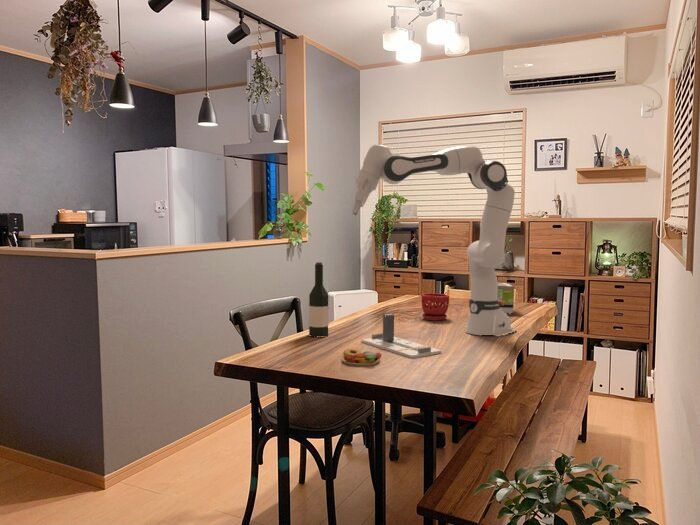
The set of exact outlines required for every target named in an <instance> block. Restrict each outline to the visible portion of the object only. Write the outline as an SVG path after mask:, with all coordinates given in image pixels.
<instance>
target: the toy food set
mask: <svg viewBox="0 0 700 525" xmlns="http://www.w3.org/2000/svg"><path fill="white" fill-rule="evenodd" d="M342 353H343V354H342V355H343V357H341V360H342V361H343V363H344V364H346V365H348V366H353V367H370V366H375V365H377V364H378V363H379V362H380V361H381V358H382V354H381V353H380V352H373V351H363V352H362V351H361V350H359V349H356V348H346V349H345V350H343V352H342Z"/></svg>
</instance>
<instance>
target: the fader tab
mask: <svg viewBox="0 0 700 525" xmlns="http://www.w3.org/2000/svg"><path fill="white" fill-rule="evenodd" d="M382 333H383V340H384V341H387V342H388V341H394V337H395V314H393V313H383V314H382Z"/></svg>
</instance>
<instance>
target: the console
mask: <svg viewBox="0 0 700 525" xmlns="http://www.w3.org/2000/svg"><path fill="white" fill-rule="evenodd" d="M360 342H361V343H364V344H366V345H370V346H373V347H376V348H379V349H382V350H384V351H389V352H391V353H394V354H397V355H400V356H403V357H406V358H409V359H417V358H421V357H427V356H433V355H437V354H439V353H440V354H442V350H441V349H437V348H435V347H432V346H427V345H424V344H421V343H418V342H414V341H410V340H407V339H403V338H401V337H396V336H394V341H388V342H387V341H384V340H383V332H381V333H380V332H379V333H374V334H373V333H372V334H371V337H370V338H363V339H361V341H360Z"/></svg>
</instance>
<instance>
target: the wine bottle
mask: <svg viewBox="0 0 700 525" xmlns="http://www.w3.org/2000/svg"><path fill="white" fill-rule="evenodd" d="M323 277H324V264H323V263H322V262H320V261H319V262H315V264H314V286H313V288H312V289H311V291H310V292H309V295H308V296H309V303H308V306H309V307H308V308H309V309H308V314H309V315H308V316H309V317H308V318H309V319H308V324H309V325H308V332H309V333H308V336H309V335H311V336H315V337H317V336H327V337H329V293H328V292H327V290H326V288H325V286H324V278H323ZM315 337H314V338H315Z"/></svg>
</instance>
